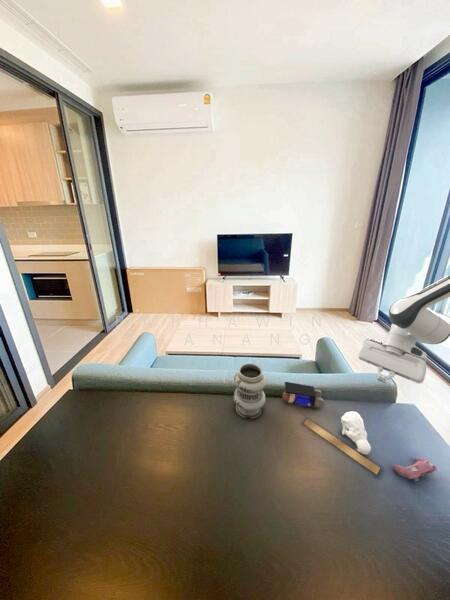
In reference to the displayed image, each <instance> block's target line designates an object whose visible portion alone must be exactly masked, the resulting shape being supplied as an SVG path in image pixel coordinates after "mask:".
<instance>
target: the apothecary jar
mask: <svg viewBox="0 0 450 600" xmlns="http://www.w3.org/2000/svg"><path fill="white" fill-rule="evenodd" d="M233 380H234V384H235V385H236V389H235V390H234V392H233V396H232V397H233V401H234V404H235V410H236V413H237V414H238V415H239V416H240V417H242V418H244V419H248V418H249V419H251V420H252V419H255V418H257V417H259V416H261V414H262V407H263V406H264V405H265V403H266V394H265V392H264V390H263V389H264V388H265V387H266V386H267V376H266V375H265V373H264V372H263V369H262V367H260V366H259V365H257V364H255V363H245V364H242V365H241V366H240V367H239V369H238V370H237V371H236V372H235V374H234V377H233Z"/></svg>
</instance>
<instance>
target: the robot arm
mask: <svg viewBox="0 0 450 600" xmlns="http://www.w3.org/2000/svg"><path fill="white" fill-rule="evenodd" d="M448 298H450V274H448V275H447V276H445V277H443V278H441V279H439V280H437V281H436V282H433V283H432V284H429V285H428V286H426V287H424V288H422V289H421V290H419V291H417V292H415V293H412V294H410V295H408V296H405V297H402V298H400V299H397V300H396V301H395V302H393V303H392V305H390V307H389V310H388V317H389V321H390V323H391V325H390V330H389V331H388V332H387V334H386V335H385V337H384V339H383V341H380V340H378V339H374V338H371V337H370V338H365V339H364V340H363V342H362V346H361V347H360V349H359V351H358V353H357V357H358V358H359V360H360V361H362V362H365V363H367V364H370V365H372V366H375V367H377V373H378V375H377V376H376V377H377V378H376V380H377V381H379V382H381V383H383V384H386V385H387V384H388V382H389V380H391V379H393V378H395V376H396V375H397V376H399V377H402V378H403V379H405V380H409V381H411V382H414V383H416V384H418V385H420V384H422V383H424V381H425V377H426V373H427V361H428V354H427V352H425V351H424V350H422V349H421V348H419V347H417V346H416V343H417V342H420V343H423V344H427V345H438V344H439V345H440V344H442V343H444V342H445V341H447V340H448V339H449V338H450V322H449V320H447V319H446V318H444V317H443V316H441V315H440V314H438V313H436V312H434V310H432V309H430V308H429V307H431V306H432V307H433V306H434V305H436V304H438V303H440V302H442V301H444V300H446V299H448ZM384 371H387V372H388V373H389V374H388V375H387V376H384V375H382V373H381V372H384Z"/></svg>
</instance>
